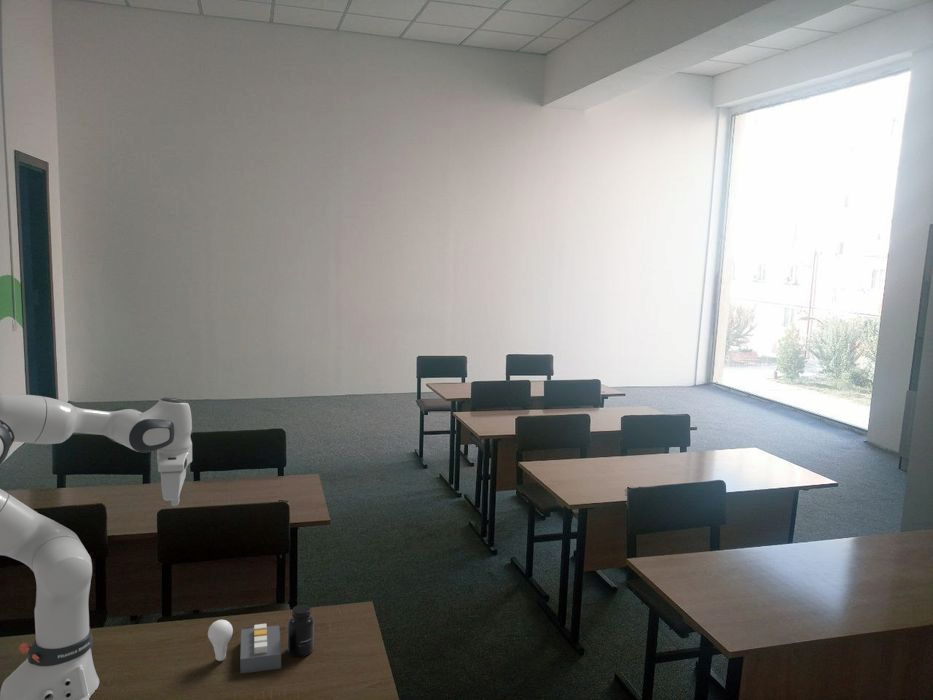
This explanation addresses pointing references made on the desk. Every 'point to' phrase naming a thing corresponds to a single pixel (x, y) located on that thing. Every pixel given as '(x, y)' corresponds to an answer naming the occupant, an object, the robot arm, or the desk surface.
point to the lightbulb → (220, 637)
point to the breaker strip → (260, 658)
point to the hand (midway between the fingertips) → (175, 504)
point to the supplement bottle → (300, 631)
